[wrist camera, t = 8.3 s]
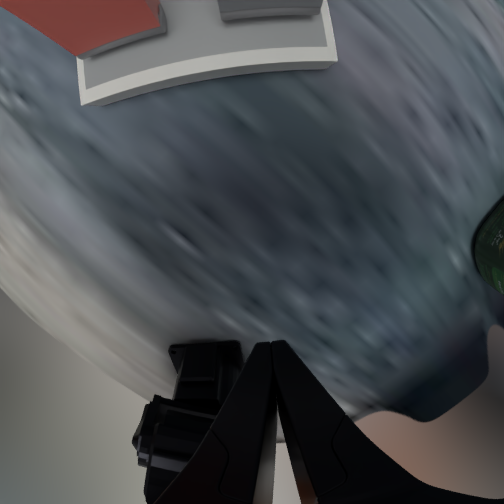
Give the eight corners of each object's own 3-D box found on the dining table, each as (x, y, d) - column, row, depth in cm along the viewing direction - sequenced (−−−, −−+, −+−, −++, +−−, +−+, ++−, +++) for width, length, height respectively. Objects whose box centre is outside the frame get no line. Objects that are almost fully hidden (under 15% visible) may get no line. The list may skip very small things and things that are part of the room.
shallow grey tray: (324, 69, 16) (338, 60, 13) (102, 106, 16) (80, 105, 14) (308, -18, 13) (318, -36, 10) (95, 22, 14) (75, 11, 11)
